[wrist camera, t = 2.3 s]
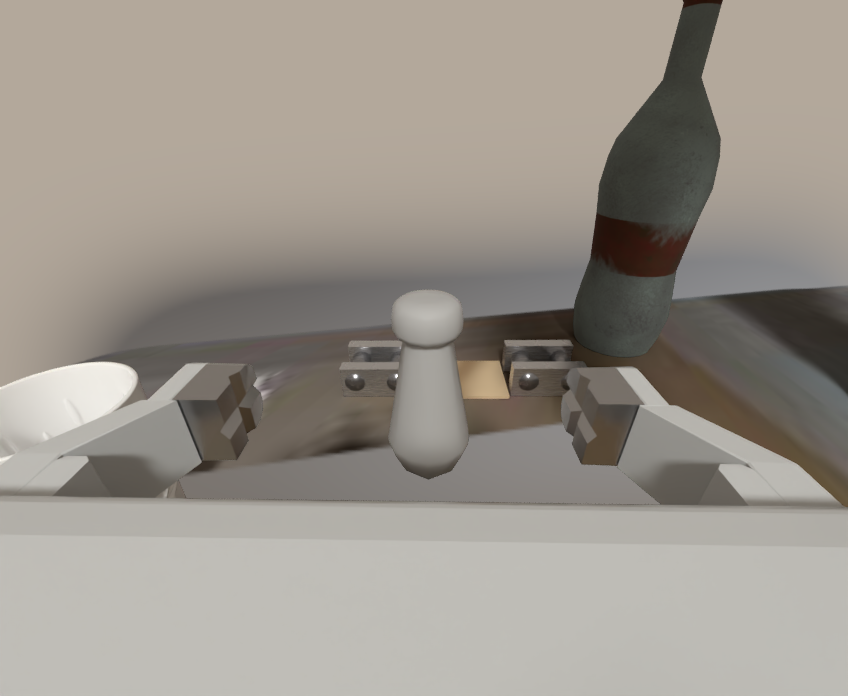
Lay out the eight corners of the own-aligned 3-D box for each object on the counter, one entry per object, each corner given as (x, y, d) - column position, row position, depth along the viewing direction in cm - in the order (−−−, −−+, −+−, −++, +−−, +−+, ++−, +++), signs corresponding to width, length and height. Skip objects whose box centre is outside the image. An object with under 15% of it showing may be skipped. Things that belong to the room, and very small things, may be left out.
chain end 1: (415, 365, 39) (414, 340, 38) (413, 396, 35) (412, 369, 33) (353, 365, 39) (350, 340, 38) (343, 397, 35) (339, 370, 33)
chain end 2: (563, 364, 39) (569, 339, 37) (582, 396, 34) (588, 369, 33) (501, 364, 39) (504, 339, 38) (510, 396, 34) (514, 369, 33)
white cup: (186, 461, 28) (132, 347, 23) (208, 539, 23) (143, 412, 18) (50, 518, 24) (-52, 395, 19) (36, 630, 19) (-111, 499, 14)
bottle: (571, 354, 41) (652, -22, 25) (565, 318, 48) (625, 12, 33) (667, 365, 38) (818, -38, 23) (645, 325, 46) (748, 2, 31)
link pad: (498, 363, 39) (499, 360, 39) (509, 398, 34) (509, 396, 34) (417, 363, 40) (417, 361, 39) (415, 398, 34) (415, 396, 34)
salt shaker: (395, 429, 31) (384, 279, 24) (464, 430, 31) (472, 279, 24) (386, 488, 26) (370, 319, 19) (469, 489, 26) (481, 318, 19)
